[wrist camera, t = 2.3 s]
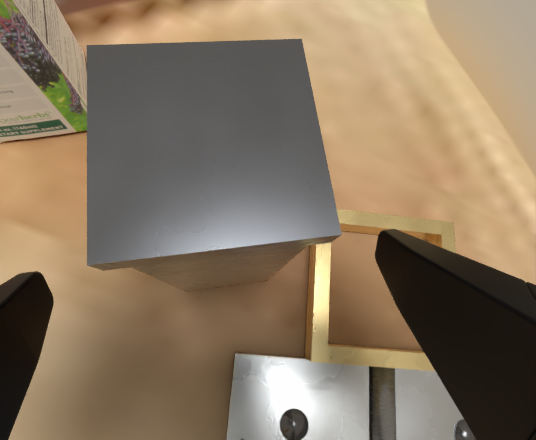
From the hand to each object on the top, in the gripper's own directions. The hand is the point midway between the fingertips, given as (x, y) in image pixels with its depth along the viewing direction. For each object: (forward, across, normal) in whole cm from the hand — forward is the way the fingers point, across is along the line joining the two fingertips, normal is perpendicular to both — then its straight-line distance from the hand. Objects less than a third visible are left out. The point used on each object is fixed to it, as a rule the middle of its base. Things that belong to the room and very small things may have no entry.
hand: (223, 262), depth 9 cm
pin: (+8, 0, +5) cm, 10 cm away
